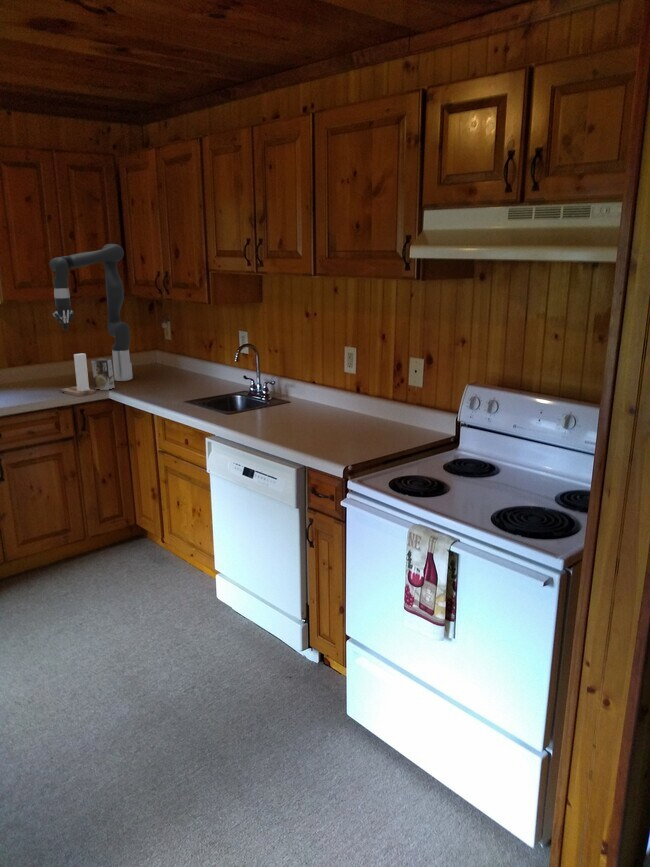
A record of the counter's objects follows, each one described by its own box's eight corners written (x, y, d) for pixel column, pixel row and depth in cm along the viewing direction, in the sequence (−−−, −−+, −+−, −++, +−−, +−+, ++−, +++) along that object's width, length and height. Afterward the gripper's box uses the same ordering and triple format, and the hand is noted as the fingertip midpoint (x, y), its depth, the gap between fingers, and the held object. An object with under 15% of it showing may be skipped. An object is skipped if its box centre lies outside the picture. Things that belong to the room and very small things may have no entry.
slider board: (75, 389, 355) (75, 386, 355) (95, 392, 346) (95, 389, 346) (59, 392, 347) (59, 389, 347) (79, 396, 338) (79, 393, 338)
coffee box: (115, 388, 358) (112, 358, 354) (110, 390, 352) (107, 360, 348) (99, 387, 359) (96, 358, 355) (93, 390, 353) (91, 360, 349)
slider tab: (85, 389, 347) (81, 353, 342) (89, 390, 344) (86, 353, 339) (76, 390, 343) (73, 354, 338) (81, 391, 340) (77, 355, 335)
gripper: (55, 298, 340) (58, 331, 345) (77, 296, 351) (80, 329, 355) (46, 297, 344) (50, 330, 349) (68, 296, 355) (72, 328, 359)
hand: (65, 330), depth 352 cm, fingers closed
